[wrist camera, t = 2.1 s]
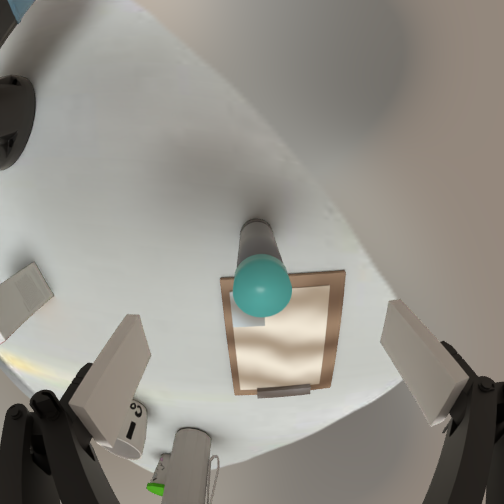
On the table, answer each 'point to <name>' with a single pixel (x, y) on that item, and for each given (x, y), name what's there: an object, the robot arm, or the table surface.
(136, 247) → the table surface
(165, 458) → the cup
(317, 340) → the tan flat rectangular tray
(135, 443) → the cup
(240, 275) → the marker
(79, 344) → the table surface
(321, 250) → the table surface
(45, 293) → the small box
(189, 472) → the water bottle
